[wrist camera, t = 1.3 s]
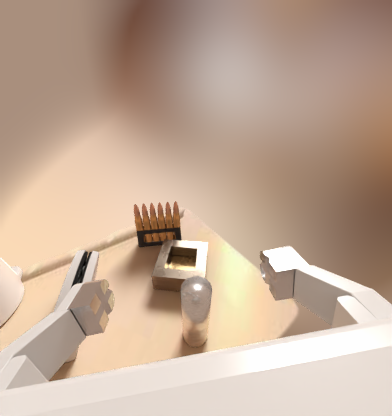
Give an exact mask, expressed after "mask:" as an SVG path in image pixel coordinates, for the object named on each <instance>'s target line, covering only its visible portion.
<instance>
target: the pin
mask: <svg viewBox="0 0 392 416" xmlns="http://www.w3.org/2000/svg"><path fill="white" fill-rule="evenodd" d="M211 295H212V287H211V285H210V283H209V282H208V280H206V279H205V278H203V277H200V276H192V277H189V278H187V279H186V280H185V281H184V282H183V284H182V286H181V305H182V324H183V337H184V340H185V342H186V343H187V344H188V345H189V346H191V347H199V346H201V345H203V344H204V343H205V341H206V339H207V334H208V325H209V315H210V305H211Z"/></svg>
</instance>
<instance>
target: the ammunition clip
mask: <svg viewBox="0 0 392 416" xmlns="http://www.w3.org/2000/svg"><path fill="white" fill-rule="evenodd" d="M173 211H174V212H173V220H172V215H171V209H170V205H169V203H168V202H167V204H166V218H164V214H163V208H162V206H161V203H159V205H158V221H157V217H156V213H155V208H154V206H153V204H152V203H151V205H150V219H149V216H148V212H147V209H146V206H145V204H143V206H142V215H143V222H142V218H141V216H140V212H139V209H138V207H137V205H136V204H135V205H134V214H135V224H136V229H137V237H138V244H139V247H145V246H155V245H162V244H163V241H164V239H167V240H179V241H181V230H180V216H179V209H178V205H177V202H176V201H175V203H174V208H173ZM165 219H166V224H165ZM150 221H151V224H150ZM143 225H144V226H143ZM151 229H152V230H151ZM166 232H167V235H166ZM159 233H160V235H159ZM152 235H153V237H152ZM145 237H146V238H145Z"/></svg>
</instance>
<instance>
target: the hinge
mask: <svg viewBox="0 0 392 416" xmlns="http://www.w3.org/2000/svg"><path fill="white" fill-rule="evenodd" d="M87 253H88V252H85V250H81V251H77V253H76V255H75V257H74V259H73V261H72V264H71V266H70V268H69V270H68V273H67V275H66V278H65V281H64V283H63V286H62V289H61V292H60V295H59V297H58V300H57V303H56V306H55V309H54V312H55V311H56V310H57V308H58V307H59V305H60V304H61V302H62V301H63V300H64V298H65V297H66V295H67V294H68V292H69V291H70V289H71V288H72V286H73V285H75V284H79V283H85V282H91V281H94V280H95V276H96V272H97V266H98V258H99V252H96V251H92V252H90V253H89V256H88V258H87ZM78 348H79V346H78V347H77V348H76V350H75V351H74V352H73V353H72V354H71V355H70V357H69V358H68V359H67V360H66V362H69V361H72V360H74V359H76V356H77V352H78Z"/></svg>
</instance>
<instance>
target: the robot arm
mask: <svg viewBox="0 0 392 416" xmlns="http://www.w3.org/2000/svg"><path fill="white" fill-rule="evenodd" d="M260 258H261V260H262V263H261V264H260V268H261V274H262V277H263V279H264V281H265V283H267V284H269V290H270V292H271V293H272V295H273V297H274V298H275V300H283V299H289V298H293V299H294V300H296V301H297V302H298V303H300V304H301V305H303V306H304V307H306V308H307V309H309V310H310V311H311V312H313V313H314V314H316V315H317V316H318V317H320V318H321V319H323V320H324V321H326V322H327V323H328V324H330V325H331V326H332V328H331V329H327V330H322V331H316V332H311V333H306V334H301V335H295V336H289V337H284V338H279V339H273V340H268V341H263V342H258V343H252V344H247V345H242V346H237V347H231V348H226V349H221V350H215V351H210V352H205V353H199V354H194V355H189V356H183V357H178V358H173V359H167V360H162V361H157V362H151V363H146V364H141V365H135V366H130V367H125V368H119V369H114V370H109V371H103V372H98V373H93V374H87V375H82V376H77V377H72V378H66V379H61V380H56V381H50V382H49V380H50V379H51V378H52V377H53V375H54V374H55V373H56V372H57V371H58V370H59V368H60V367H61V366H62V365H63V364H64V363H65V361H66V360H67V359H68V358H69V357H70V355H71V354H72V353H73V352H74V351H75V350H76V348H77V347H78V346H79V345H80V344H81V343H82V341H83V340H84V339H85V338H86V336H89V335H94V334H98V333H103V332H104V331H105V328H106V326H107V323H108V320H109V318H108V316H107V315H108V314H109V313H110V312H111V311H112V309H113V307H114V294H113V292H112V291H111V290H109V289H108V287H109V283H108V281H107V280H105V279H104V280H97V281H91V282H85V283H79V284H75V285H73V286H72V288H71V289H70V291H69V292H68V294H67V295H66V297H65V298H64V300H63V301H62V302H61V304H60V305H59V307H58V308H57V310H56V311H55V312H53V313H50V314H49V315H48V316H46V317H45V318H44V319H43V320H41V321H40V322H39V323H37V324H36V325H35V326H33V327H32V328H31V329H29V330H28V331H27V332H25V333H24V334H23V335H21V336H20V337H19V338H18V339H16V340H15V341H14V342H12V343H11V344H10V345H8V346H7V347H6V348H4V349H3V350H2V351H0V416H392V305H391V304H390V303H389V302H388V301H386V300H385V299H384V298H383V297H381V296H380V295H379V294H378V293H377V292H375V291H374V290H373V289H370V288H368V287H365V286H363V285H360V284H358V283H355V282H353V281H350V280H348V279H345V278H343V277H341V276H338V275H336V274H333V273H331V272H328V271H326V270H323V269H320V268H318V267H316V266H313V265H311V266H309V265H308V264H307V262H306V261H305V260H304V259H302V258H301V256H300V255H299V254H298V253H297V252H296V251H295V250H294V249H293V248H292V247H291V246H285V247H280V248H276V249H271V250H266V251H261V253H260ZM22 273H23V270H22V269H21V268H20V267H10V266H9V265H8V264H7V263H6V262H5V261H4V260H3V259H2V258H1V257H0V326H1V325H2V324H4V323H5V322H6V321H7V319H8V318H9V317H10V316H11V315H12V314H13V313H14V311H15V310H16V309H17V307H18V306H19V304H20V302H21V300H22V298H23V295H24V286H23V284H22V282H21V277H22Z"/></svg>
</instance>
